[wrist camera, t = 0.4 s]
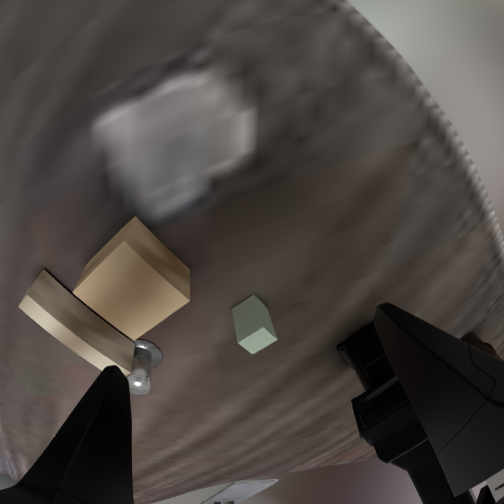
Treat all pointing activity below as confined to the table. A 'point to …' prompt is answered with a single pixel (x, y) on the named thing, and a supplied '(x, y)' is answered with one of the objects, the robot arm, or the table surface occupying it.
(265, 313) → the post
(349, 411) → the table surface
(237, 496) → the slab with upright peg
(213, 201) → the table surface
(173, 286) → the oak block
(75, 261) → the table surface
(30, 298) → the gate rail
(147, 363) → the metal door knob
